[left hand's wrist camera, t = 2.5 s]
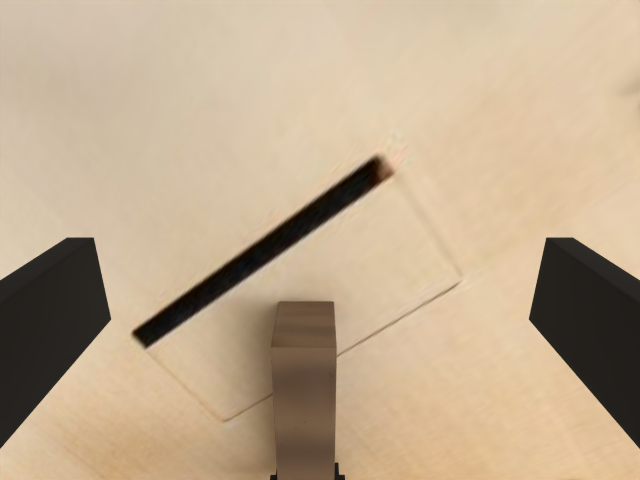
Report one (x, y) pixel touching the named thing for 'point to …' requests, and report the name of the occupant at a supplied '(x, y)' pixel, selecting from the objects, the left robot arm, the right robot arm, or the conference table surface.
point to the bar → (304, 390)
